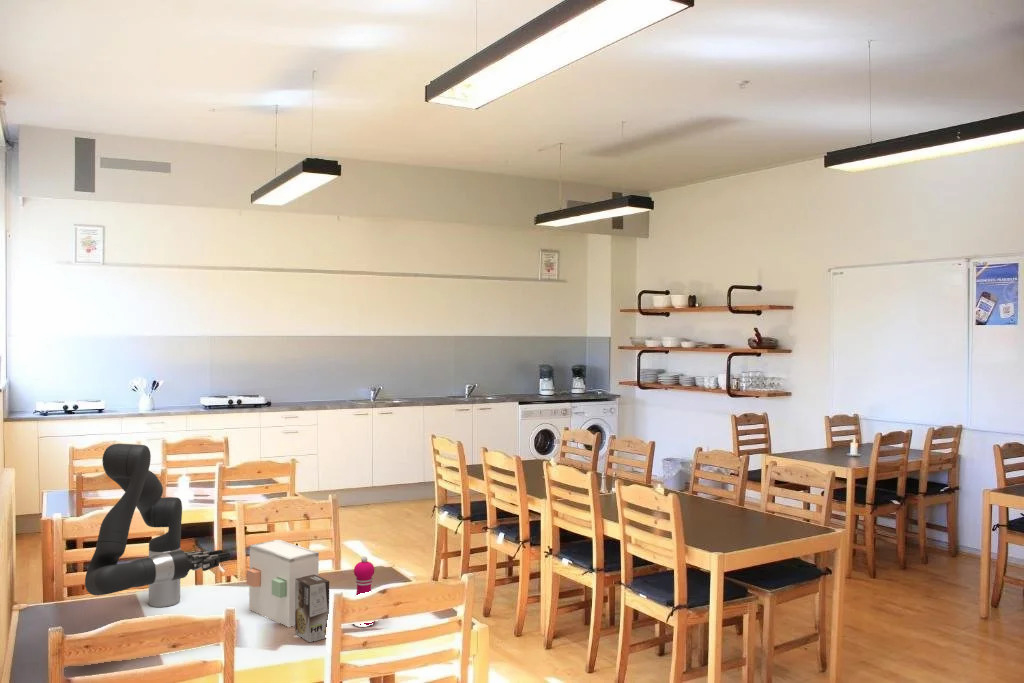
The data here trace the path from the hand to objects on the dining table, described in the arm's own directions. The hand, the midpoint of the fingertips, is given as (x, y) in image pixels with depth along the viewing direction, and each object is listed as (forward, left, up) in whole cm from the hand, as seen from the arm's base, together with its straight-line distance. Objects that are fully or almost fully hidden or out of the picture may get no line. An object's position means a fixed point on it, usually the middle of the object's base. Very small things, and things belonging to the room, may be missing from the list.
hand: (225, 554), depth 234 cm
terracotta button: (-7, +14, -13) cm, 21 cm away
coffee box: (+21, +15, -22) cm, 34 cm away
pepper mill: (+24, +31, -22) cm, 45 cm away
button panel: (0, +19, -22) cm, 29 cm away
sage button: (+7, +14, -13) cm, 21 cm away
